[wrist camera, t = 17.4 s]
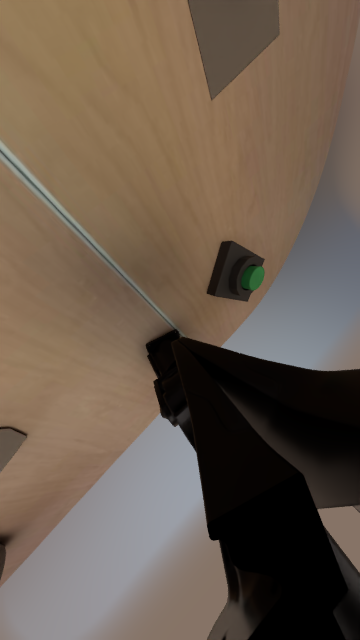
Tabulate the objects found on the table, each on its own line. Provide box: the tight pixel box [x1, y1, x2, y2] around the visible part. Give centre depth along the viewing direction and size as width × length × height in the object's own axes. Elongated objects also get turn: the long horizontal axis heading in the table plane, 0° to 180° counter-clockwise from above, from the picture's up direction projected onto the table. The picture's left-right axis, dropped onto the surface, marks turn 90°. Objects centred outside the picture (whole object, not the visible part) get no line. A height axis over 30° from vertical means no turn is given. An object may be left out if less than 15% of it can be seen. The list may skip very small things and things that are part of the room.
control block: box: [207, 241, 265, 302], centre depth 25 cm, size 11×9×4 cm
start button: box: [241, 266, 264, 290], centre depth 23 cm, size 4×4×2 cm
